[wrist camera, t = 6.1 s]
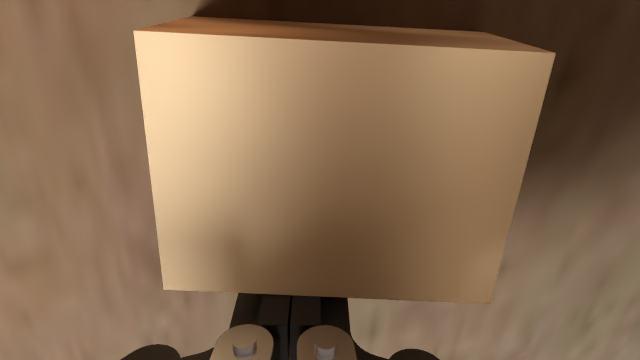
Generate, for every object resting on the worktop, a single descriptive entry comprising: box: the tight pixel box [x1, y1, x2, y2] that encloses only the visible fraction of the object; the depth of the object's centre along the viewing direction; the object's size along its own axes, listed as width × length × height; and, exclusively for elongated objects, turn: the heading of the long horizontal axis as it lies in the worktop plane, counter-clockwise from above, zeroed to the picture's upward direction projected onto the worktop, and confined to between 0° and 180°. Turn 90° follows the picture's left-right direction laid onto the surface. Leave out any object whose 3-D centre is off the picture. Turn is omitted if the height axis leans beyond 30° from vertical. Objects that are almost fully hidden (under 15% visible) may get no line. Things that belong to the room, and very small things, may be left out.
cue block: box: [134, 16, 556, 304], centre depth 11 cm, size 8×6×4 cm
